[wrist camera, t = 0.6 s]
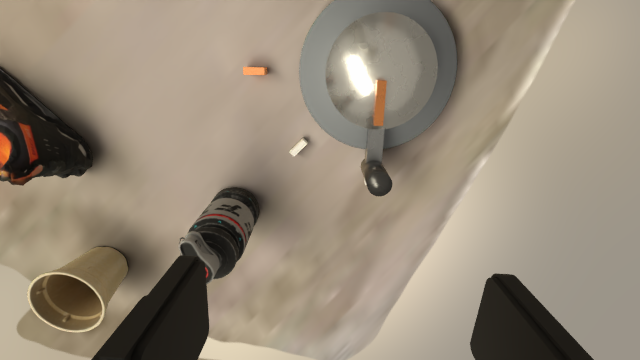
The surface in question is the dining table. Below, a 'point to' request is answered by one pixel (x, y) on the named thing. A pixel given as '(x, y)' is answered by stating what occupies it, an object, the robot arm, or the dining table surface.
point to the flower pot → (78, 290)
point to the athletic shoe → (35, 139)
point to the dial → (380, 81)
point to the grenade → (222, 232)
